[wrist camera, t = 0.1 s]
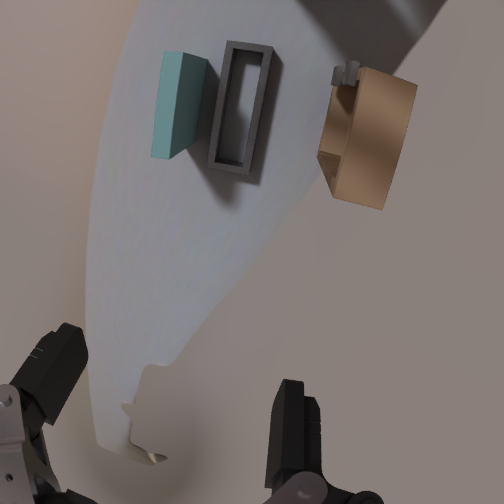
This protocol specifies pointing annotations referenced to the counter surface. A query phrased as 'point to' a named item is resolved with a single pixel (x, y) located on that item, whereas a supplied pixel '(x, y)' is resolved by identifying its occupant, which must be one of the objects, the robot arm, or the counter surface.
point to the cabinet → (364, 133)
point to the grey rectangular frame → (221, 103)
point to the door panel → (177, 103)
